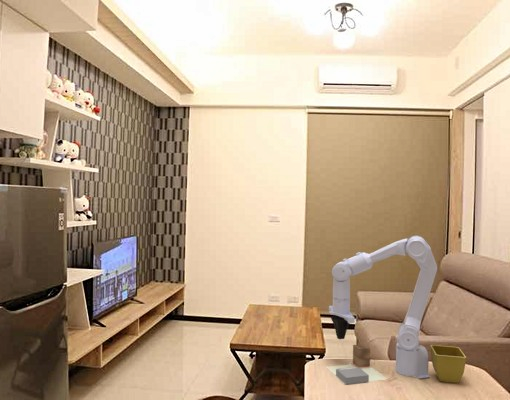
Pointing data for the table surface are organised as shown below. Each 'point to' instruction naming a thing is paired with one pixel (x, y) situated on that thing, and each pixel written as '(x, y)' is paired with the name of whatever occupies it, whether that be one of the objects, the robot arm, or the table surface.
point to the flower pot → (448, 362)
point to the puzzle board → (369, 370)
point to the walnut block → (361, 355)
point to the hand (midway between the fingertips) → (340, 338)
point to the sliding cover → (352, 375)
